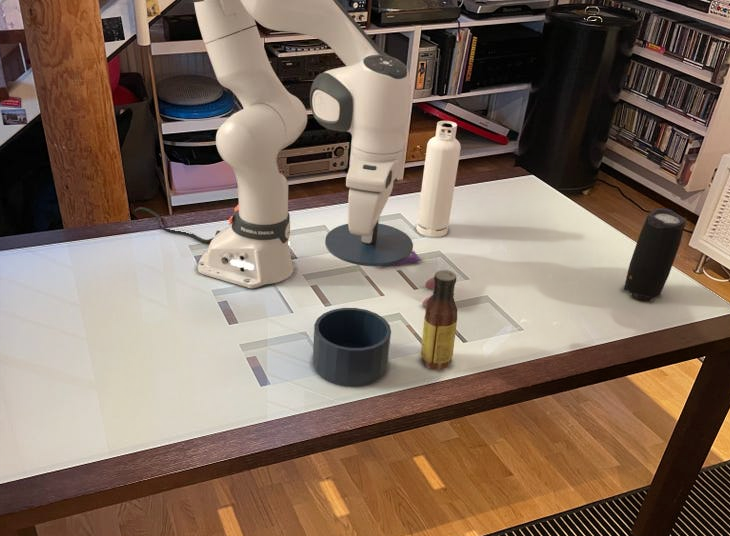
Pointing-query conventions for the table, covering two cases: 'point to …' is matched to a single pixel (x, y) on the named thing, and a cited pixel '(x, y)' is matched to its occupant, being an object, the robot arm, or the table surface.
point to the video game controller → (429, 285)
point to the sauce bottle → (440, 322)
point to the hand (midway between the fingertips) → (369, 236)
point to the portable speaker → (654, 254)
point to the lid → (370, 246)
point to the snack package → (408, 260)
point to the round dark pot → (351, 346)
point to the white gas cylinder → (438, 181)
